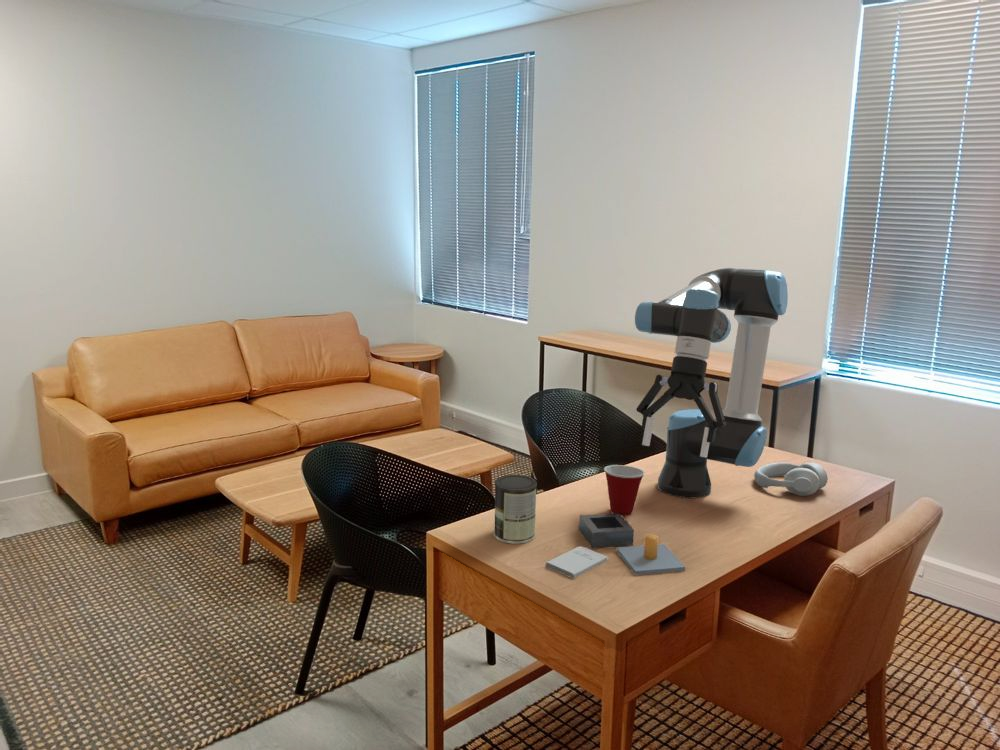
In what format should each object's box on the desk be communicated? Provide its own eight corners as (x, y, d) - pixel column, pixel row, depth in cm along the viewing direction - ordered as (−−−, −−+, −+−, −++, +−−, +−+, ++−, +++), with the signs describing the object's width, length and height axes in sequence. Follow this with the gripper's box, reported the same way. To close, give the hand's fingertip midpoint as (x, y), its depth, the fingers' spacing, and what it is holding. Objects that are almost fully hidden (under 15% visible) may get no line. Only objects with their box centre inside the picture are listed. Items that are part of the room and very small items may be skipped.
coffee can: (485, 537, 193) (486, 483, 189) (508, 523, 201) (510, 471, 198) (520, 548, 187) (522, 492, 184) (543, 533, 195) (544, 480, 192)
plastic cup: (648, 509, 212) (651, 467, 209) (633, 522, 203) (636, 479, 200) (611, 500, 217) (613, 459, 215) (595, 513, 208) (597, 471, 205)
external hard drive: (545, 568, 178) (579, 551, 187) (573, 580, 173) (607, 562, 181) (545, 561, 178) (579, 545, 187) (574, 573, 172) (607, 556, 181)
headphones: (836, 486, 230) (772, 477, 244) (835, 460, 229) (771, 453, 243) (810, 502, 217) (744, 492, 231) (809, 475, 216) (743, 467, 230)
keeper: (663, 547, 189) (665, 524, 187) (685, 570, 177) (687, 546, 176) (616, 551, 186) (617, 528, 185) (635, 575, 175) (636, 550, 173)
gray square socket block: (617, 527, 200) (618, 512, 199) (633, 545, 190) (634, 529, 189) (578, 530, 198) (579, 515, 197) (591, 548, 188) (592, 532, 187)
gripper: (633, 348, 179) (616, 439, 178) (741, 362, 165) (723, 461, 164) (645, 354, 185) (629, 442, 184) (750, 367, 172) (733, 462, 171)
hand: (673, 451), depth 174 cm, fingers open, 13 cm apart
